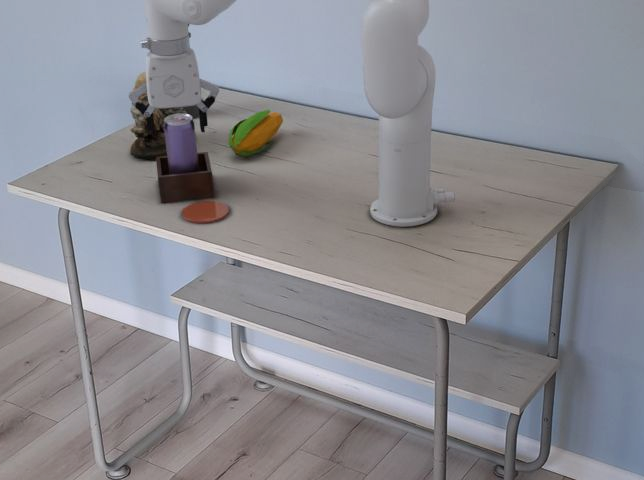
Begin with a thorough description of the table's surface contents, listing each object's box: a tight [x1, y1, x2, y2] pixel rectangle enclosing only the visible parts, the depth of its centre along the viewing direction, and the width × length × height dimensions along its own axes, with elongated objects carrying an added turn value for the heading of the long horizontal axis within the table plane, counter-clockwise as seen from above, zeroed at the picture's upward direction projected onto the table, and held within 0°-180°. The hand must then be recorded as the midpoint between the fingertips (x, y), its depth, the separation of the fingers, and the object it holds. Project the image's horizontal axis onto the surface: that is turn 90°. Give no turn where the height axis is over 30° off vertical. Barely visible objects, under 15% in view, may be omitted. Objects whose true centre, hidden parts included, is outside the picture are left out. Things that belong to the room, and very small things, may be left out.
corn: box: [227, 109, 284, 158], centre depth 223 cm, size 7×8×20 cm
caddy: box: [155, 151, 215, 204], centre depth 206 cm, size 11×11×6 cm
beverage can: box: [164, 114, 199, 175], centre depth 203 cm, size 6×6×15 cm
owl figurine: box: [129, 71, 187, 161], centre depth 222 cm, size 18×12×17 cm, turn 155°
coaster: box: [181, 200, 230, 224], centre depth 198 cm, size 9×9×1 cm
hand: (178, 131), depth 201 cm, fingers open, 9 cm apart
